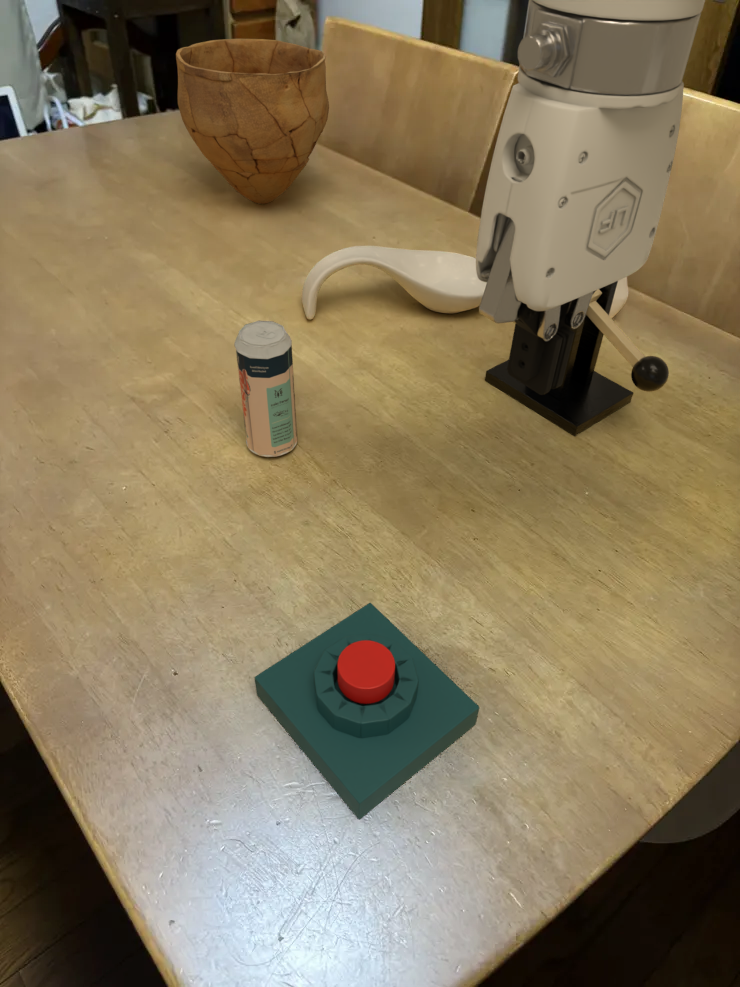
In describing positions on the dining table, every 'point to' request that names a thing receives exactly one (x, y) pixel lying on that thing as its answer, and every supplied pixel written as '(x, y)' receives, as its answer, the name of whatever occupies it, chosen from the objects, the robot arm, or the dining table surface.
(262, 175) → the bowl
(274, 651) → the dining table surface
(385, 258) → the spoon rest
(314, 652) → the button block
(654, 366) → the switch lever
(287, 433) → the beer can
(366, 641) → the button
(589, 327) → the bracket
